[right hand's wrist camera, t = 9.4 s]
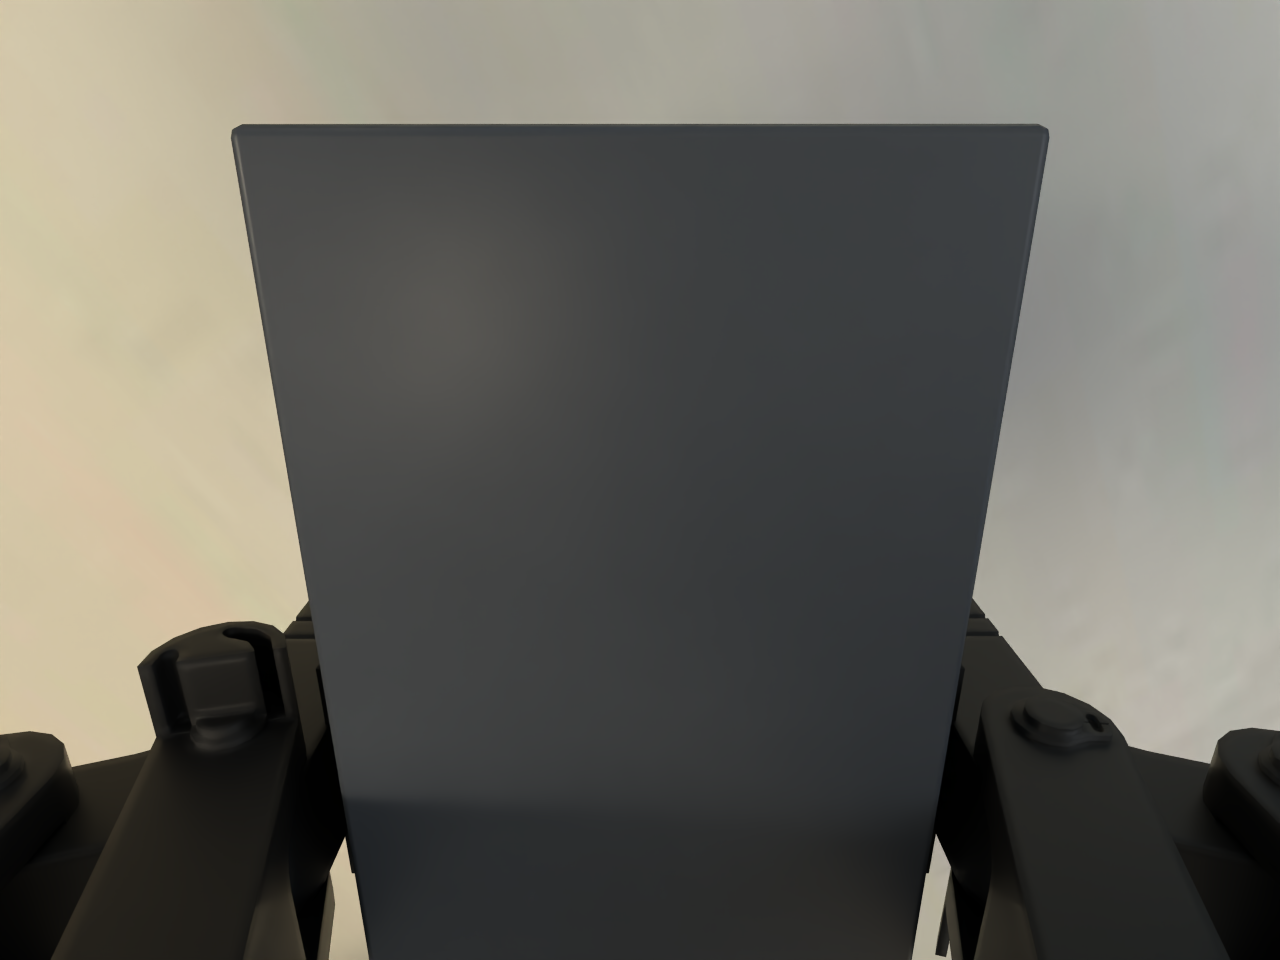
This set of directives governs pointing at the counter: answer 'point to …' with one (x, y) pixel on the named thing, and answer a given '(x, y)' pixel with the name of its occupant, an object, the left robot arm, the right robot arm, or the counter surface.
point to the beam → (640, 513)
